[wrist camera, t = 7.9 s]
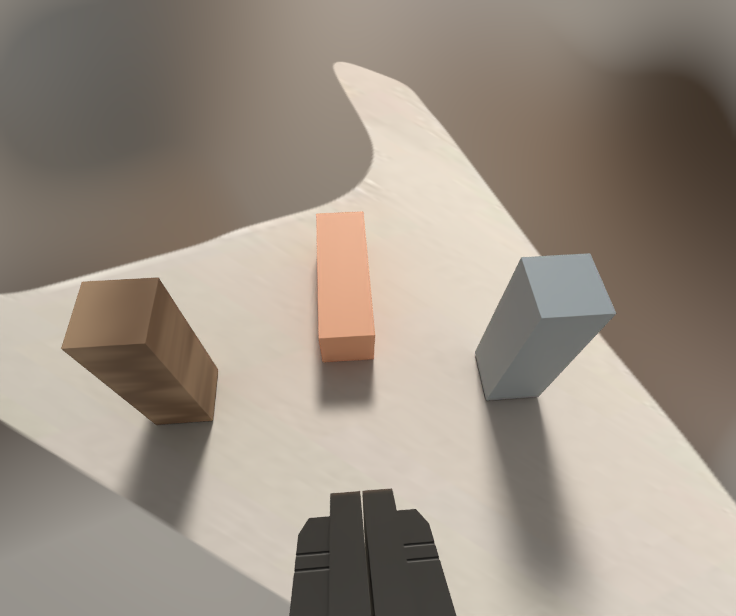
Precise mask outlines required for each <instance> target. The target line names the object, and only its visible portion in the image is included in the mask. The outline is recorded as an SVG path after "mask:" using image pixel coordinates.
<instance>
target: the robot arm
mask: <svg viewBox="0 0 736 616" xmlns="http://www.w3.org/2000/svg"><path fill="white" fill-rule="evenodd" d="M363 515H364V530H363V519H362V508H361V496H360V491H357V492H344V493H332V494H330V516H329V517H317V518H309V519H308V521H307V522H306V524H305V525H304V527H303V528H302V530H301V531H300V533H299V535H298V542H297V551H296V560H295V573H294V579H293V588H292V597H291V606H290V615H289V616H456V613H455V610H454V606H453V603H452V599H451V596H450V593H449V589H448V586H447V583H446V579H445V576H444V573H443V569H442V566H441V562H440V560H439V556H438V552H437V549H436V546H435V544H434V539H433V536H432V532H431V529H430V525H429V523H428V522H427V521H426V520H425V519H424V518H423V516H422V515H421V514H420V513H419V512H418V511H417V510H416V509H411V510H399V511H397V510H396V505H395V500H394V495H393V491H392V489H380V490H367V491H363ZM364 536H365V542H364Z"/></svg>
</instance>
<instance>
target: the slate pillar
mask: <svg viewBox="0 0 736 616" xmlns="http://www.w3.org/2000/svg"><path fill="white" fill-rule="evenodd" d="M615 314H616V312H615V310H614V307H613V305H612V303H611V300H610V298H609V296H608V294H607V291H606V289H605V287H604V285H603V282H602V280H601V278H600V275H599V273H598V271H597V268H596V266H595V264H594V262H593V259H592V257H591V255H590V254H574V255H556V256H538V257H521V259H520V261H519V263H518V265H517V267H516V269H515V271H514V273H513V276H512V278H511V280H510V282H509V284H508V286H507V288H506V290H505V292H504V294H503V296H502V298H501V300H500V302H499V304H498V306H497V308H496V310H495V312H494V314H493V316H492V318H491V321H490V323H489V325H488V327H487V329H486V331H485V333H484V335H483V337H482V339H481V341H480V343H479V345H478V347H477V349H476V351H475V354H476V359H477V363H478V367H479V372H480V376H481V380H482V385H483V389H484V393H485V398H486V400H500V399H513V398H527V397H539V396H540V395H541V393H542V392H543V391H544V390H545V389H546V388H547V387H548V386H549V385H550V384H551V383H552V382H553V381H554V380H555V379H556V377H557V376H558V375H559V374H560V373H561V372H562V371H563V370H564V369H565V368H566V367H567V366H568V365H569V364H570V362H571V361H572V360H573V359H574V358H575V357H576V356H577V355H578V354H579V353H580V352H581V351H582V350H583V349H584V347H585V346H586V345H587V344H588V343H589V342H590V341H591V340H592V339H593V338H594V337H595V336H596V335H597V334H598V332H599V331H600V330H601V329H602V328H603V327H604V326H605V325H606V324H607V323H608V322H609V320H611V319H612V318H613V316H614V315H615Z"/></svg>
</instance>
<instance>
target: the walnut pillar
mask: <svg viewBox="0 0 736 616" xmlns="http://www.w3.org/2000/svg"><path fill="white" fill-rule="evenodd" d="M61 349H62V350H63V351H64V352H66V353H67V354H68V355H69V356H71V357H72V358H73V359H74V360H76V361H77V362H78V363H79V364H81V365H82V366H83V367H84V368H86V369H87V370H88V371H89V372H91V373H92V374H93V375H94V376H96V377H97V378H98V379H99V380H101V381H102V382H103V383H104V384H106V385H107V386H108V387H109V388H111V389H112V390H113V391H114V392H116V393H117V394H118V395H119V396H121V397H122V398H123V399H124V400H126V401H127V402H128V403H129V404H131V405H132V406H133V407H134V408H136V409H137V410H138V411H139V412H141V413H142V414H143V415H144V416H146V417H147V418H148V419H149V420H151V421H152V422H153V423H154V424H156V425H160V424H174V423H187V422H201V421H213V414H214V405H215V395H216V385H217V376H218V369H217V367H216V365H215V364H214V362H213V361H212V359H211V358H210V356H209V355H208V353H207V352H206V350H205V348H204V347H203V345H202V344H201V342H200V341H199V339H198V338H197V336H196V335H195V333H194V332H193V330H192V328H191V327H190V325H189V324H188V322H187V321H186V319H185V318H184V316H183V315H182V313H181V311H180V310H179V308H178V307H177V305H176V304H175V302H174V301H173V299H172V298H171V296H170V294H169V293H168V291H167V290H166V288H165V287H164V285H163V284H162V282H161V281H160V279H159V278H141V279H123V280H105V281H88V282H82V283H81V286H80V290H79V293H78V296H77V299H76V302H75V306H74V309H73V312H72V315H71V318H70V322H69V325H68V328H67V331H66V334H65V338H64V341H63V344H62V347H61Z"/></svg>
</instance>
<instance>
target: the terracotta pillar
mask: <svg viewBox="0 0 736 616" xmlns="http://www.w3.org/2000/svg"><path fill="white" fill-rule="evenodd" d="M316 221H317V275H318V329H319V343H320V349H321V355H322V361H323V362H335V361H352V360H368V359H374V344H375V329H374V319H373V308H372V298H371V287H370V276H369V266H368V255H367V244H366V234H365V223H364V213H363V212H342V213H320V214H316Z"/></svg>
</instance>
